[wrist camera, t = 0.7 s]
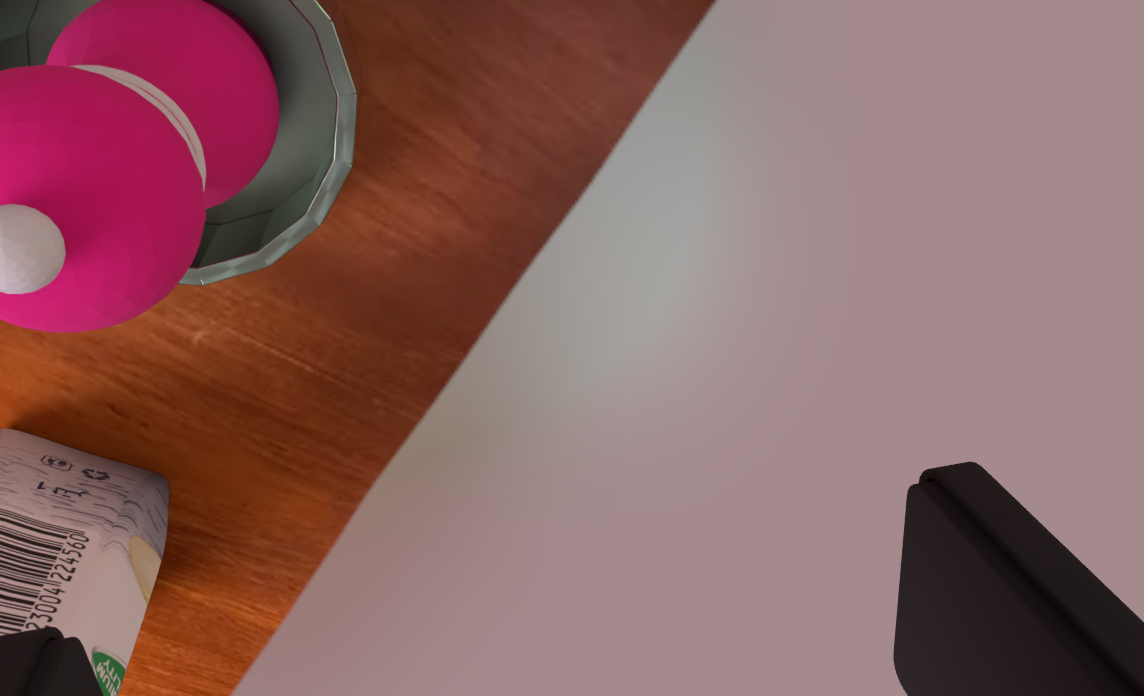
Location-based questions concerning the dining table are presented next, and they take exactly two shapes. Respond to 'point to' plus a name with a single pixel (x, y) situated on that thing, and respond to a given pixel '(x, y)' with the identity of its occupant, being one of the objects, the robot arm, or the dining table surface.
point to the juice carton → (78, 547)
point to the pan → (304, 138)
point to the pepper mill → (125, 156)
